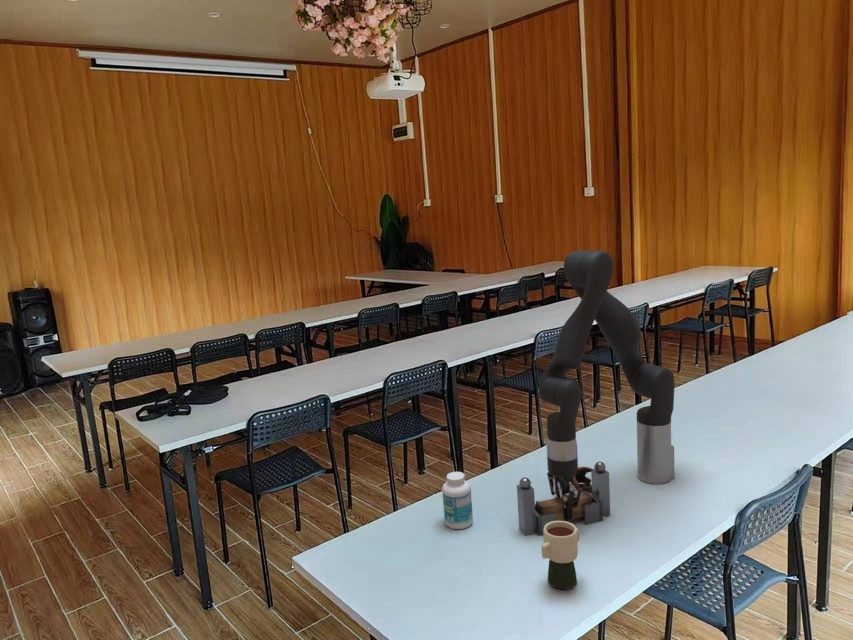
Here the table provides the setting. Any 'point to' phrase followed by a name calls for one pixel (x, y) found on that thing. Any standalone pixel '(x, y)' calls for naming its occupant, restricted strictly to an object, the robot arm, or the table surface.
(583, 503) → the walnut rail
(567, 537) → the character mug
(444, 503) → the pill bottle
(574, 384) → the robot arm
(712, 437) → the table surface
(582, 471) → the broken pottery vessel
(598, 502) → the ball knob clevis bracket
